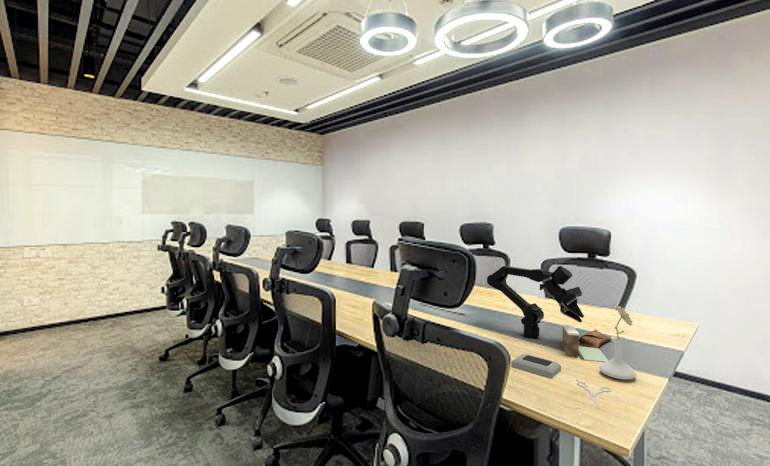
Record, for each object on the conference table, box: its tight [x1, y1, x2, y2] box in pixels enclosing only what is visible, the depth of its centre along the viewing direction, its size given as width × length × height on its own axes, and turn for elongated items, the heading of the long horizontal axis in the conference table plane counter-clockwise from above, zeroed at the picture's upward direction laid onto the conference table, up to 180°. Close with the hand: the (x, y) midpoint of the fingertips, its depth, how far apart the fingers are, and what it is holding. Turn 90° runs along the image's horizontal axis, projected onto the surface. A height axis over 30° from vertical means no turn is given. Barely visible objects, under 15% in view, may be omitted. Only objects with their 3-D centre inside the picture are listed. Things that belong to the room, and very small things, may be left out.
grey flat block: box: [510, 353, 562, 379], centre depth 139 cm, size 10×4×15 cm
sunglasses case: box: [579, 329, 612, 348], centre depth 169 cm, size 18×7×7 cm
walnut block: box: [561, 324, 580, 359], centre depth 157 cm, size 4×12×10 cm, turn 164°
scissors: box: [575, 378, 612, 410], centre depth 119 cm, size 11×1×20 cm
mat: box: [578, 345, 609, 363], centre depth 155 cm, size 10×16×1 cm, turn 164°
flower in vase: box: [598, 305, 637, 380], centre depth 134 cm, size 13×11×25 cm
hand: (582, 319), depth 159 cm, fingers open, 9 cm apart
